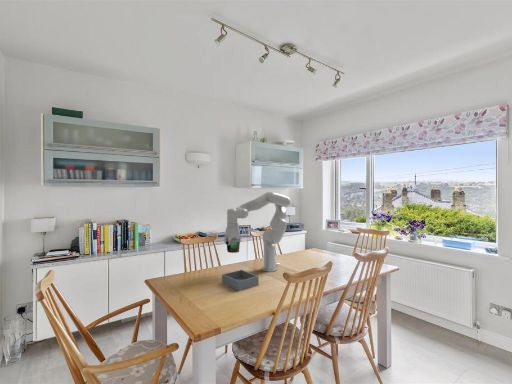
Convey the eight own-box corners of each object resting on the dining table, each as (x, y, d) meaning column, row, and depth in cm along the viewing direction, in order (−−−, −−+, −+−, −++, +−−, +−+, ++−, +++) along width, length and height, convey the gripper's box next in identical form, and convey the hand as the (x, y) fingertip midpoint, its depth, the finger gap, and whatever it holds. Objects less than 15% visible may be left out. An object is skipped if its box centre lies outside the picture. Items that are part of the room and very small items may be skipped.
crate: (241, 278, 197) (241, 269, 197) (258, 285, 183) (258, 276, 183) (222, 283, 186) (222, 274, 186) (238, 291, 172) (238, 281, 172)
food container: (222, 251, 203) (222, 238, 202) (227, 250, 208) (227, 237, 208) (236, 254, 197) (236, 240, 196) (240, 252, 202) (240, 238, 202)
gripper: (238, 223, 211) (238, 247, 211) (219, 226, 200) (219, 250, 200) (244, 224, 205) (244, 248, 206) (225, 227, 194) (225, 252, 194)
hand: (232, 249), depth 203 cm, fingers closed on food container, 6 cm apart
